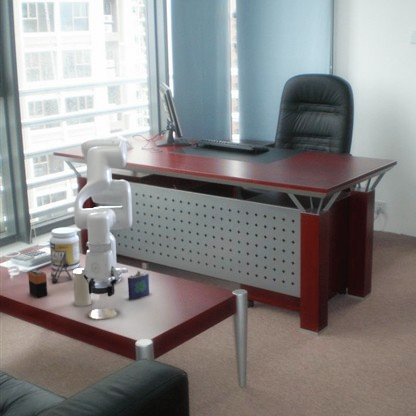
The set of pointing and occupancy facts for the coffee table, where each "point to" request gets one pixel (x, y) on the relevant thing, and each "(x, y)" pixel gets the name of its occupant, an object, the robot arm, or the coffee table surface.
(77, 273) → the jar
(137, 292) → the flask
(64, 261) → the tablet stand
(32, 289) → the battery
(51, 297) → the coffee table surface
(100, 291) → the lid
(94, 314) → the coaster
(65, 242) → the supplement tub
